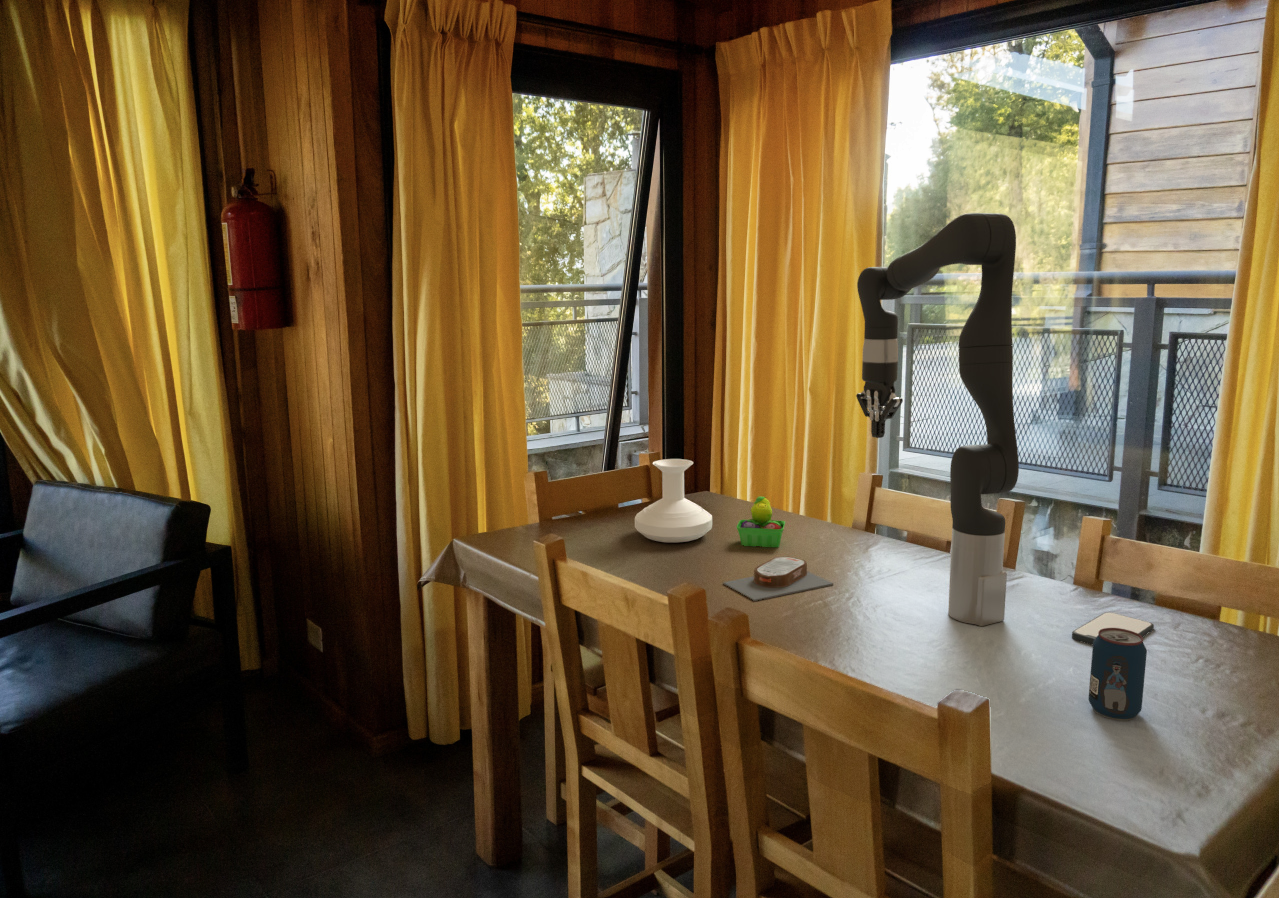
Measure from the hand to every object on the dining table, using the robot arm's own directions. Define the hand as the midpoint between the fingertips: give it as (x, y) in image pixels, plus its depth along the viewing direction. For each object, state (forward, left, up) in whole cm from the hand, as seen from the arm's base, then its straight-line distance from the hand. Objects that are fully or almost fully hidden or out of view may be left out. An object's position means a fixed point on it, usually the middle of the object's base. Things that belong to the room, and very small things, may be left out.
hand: (877, 437), depth 195 cm
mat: (-2, +28, -29) cm, 40 cm away
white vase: (+41, +30, -29) cm, 59 cm away
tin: (+5, +27, -27) cm, 39 cm away
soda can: (-72, +17, -29) cm, 80 cm away
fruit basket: (+25, +14, -29) cm, 41 cm away
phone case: (-53, -9, -30) cm, 61 cm away
